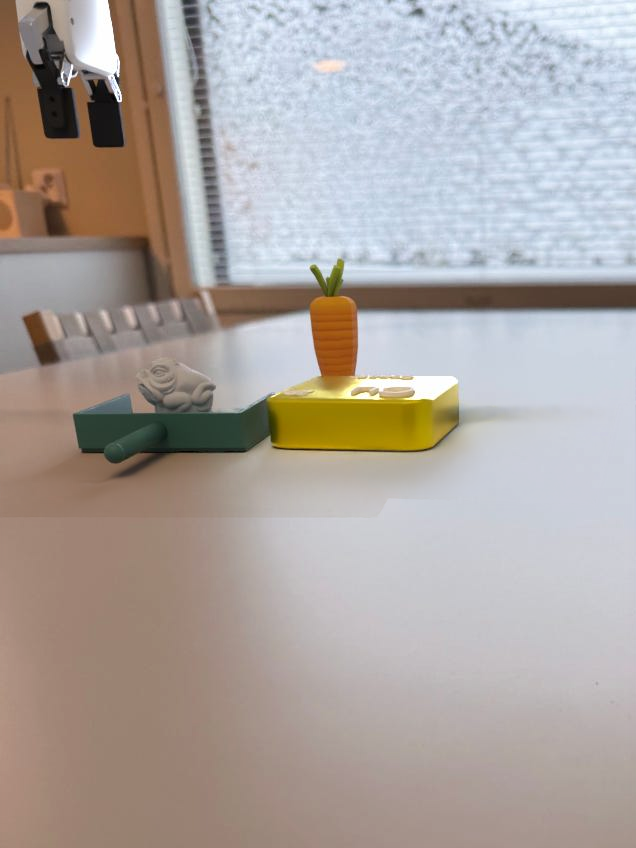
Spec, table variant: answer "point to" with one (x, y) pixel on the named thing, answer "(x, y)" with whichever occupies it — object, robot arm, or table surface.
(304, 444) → the element tile
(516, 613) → the table surface
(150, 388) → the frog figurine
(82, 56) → the robot arm
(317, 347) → the carrot
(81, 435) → the scoop
